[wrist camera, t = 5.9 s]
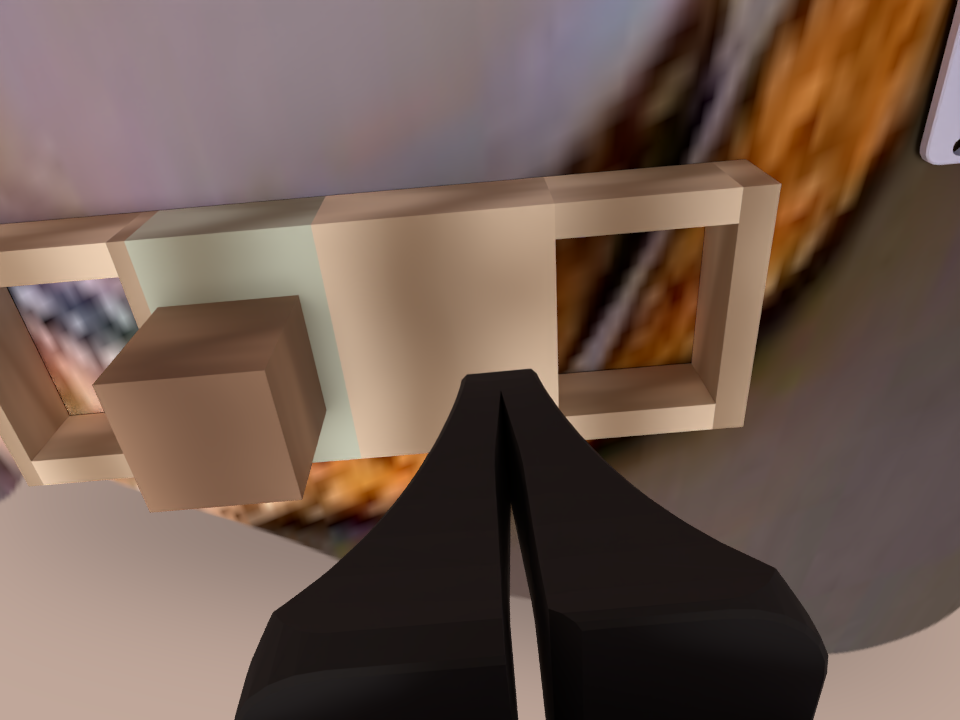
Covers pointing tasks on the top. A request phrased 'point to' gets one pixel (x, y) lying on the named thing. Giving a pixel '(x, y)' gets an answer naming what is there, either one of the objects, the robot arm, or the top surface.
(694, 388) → the frame
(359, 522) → the top surface
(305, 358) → the walnut block
